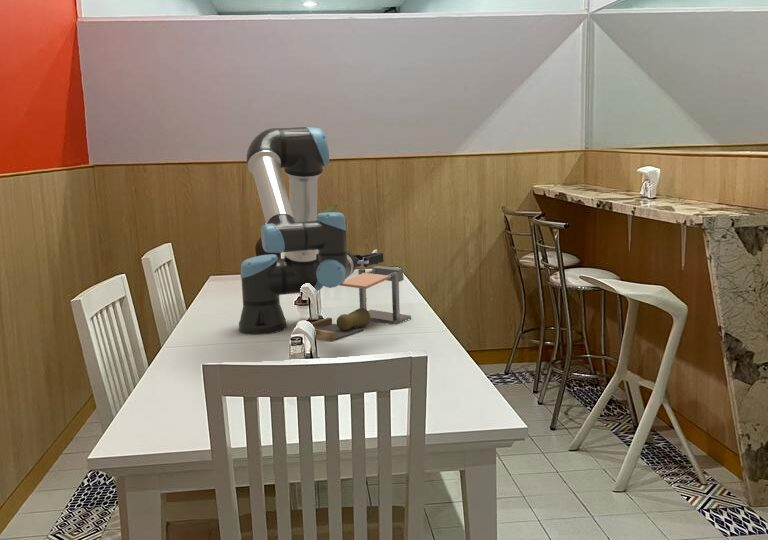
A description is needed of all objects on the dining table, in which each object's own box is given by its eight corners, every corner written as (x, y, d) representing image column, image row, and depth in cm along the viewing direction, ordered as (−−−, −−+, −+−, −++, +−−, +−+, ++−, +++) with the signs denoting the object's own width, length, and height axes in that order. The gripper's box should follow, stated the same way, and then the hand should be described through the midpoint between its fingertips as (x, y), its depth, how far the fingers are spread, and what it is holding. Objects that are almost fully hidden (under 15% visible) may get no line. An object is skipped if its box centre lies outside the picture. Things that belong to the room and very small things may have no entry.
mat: (305, 334, 231) (305, 332, 231) (333, 325, 241) (333, 323, 241) (336, 340, 223) (336, 338, 223) (364, 330, 233) (364, 328, 233)
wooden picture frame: (297, 334, 231) (296, 326, 230) (328, 324, 242) (328, 317, 241) (332, 341, 221) (331, 333, 221) (363, 330, 233) (363, 323, 232)
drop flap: (377, 276, 253) (375, 265, 252) (404, 280, 246) (403, 268, 245) (340, 293, 239) (338, 281, 238) (367, 297, 232) (366, 284, 231)
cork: (356, 326, 240) (335, 333, 232) (354, 308, 240) (332, 314, 231) (371, 325, 237) (349, 332, 228) (368, 307, 236) (347, 313, 228)
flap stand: (371, 313, 256) (369, 266, 254) (411, 319, 246) (409, 270, 243) (354, 318, 250) (352, 270, 247) (394, 324, 239) (392, 274, 236)
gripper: (298, 279, 211) (315, 266, 231) (385, 278, 207) (394, 265, 228) (296, 252, 209) (314, 242, 230) (384, 251, 206) (394, 241, 226)
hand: (354, 254), depth 229 cm, fingers open, 13 cm apart
